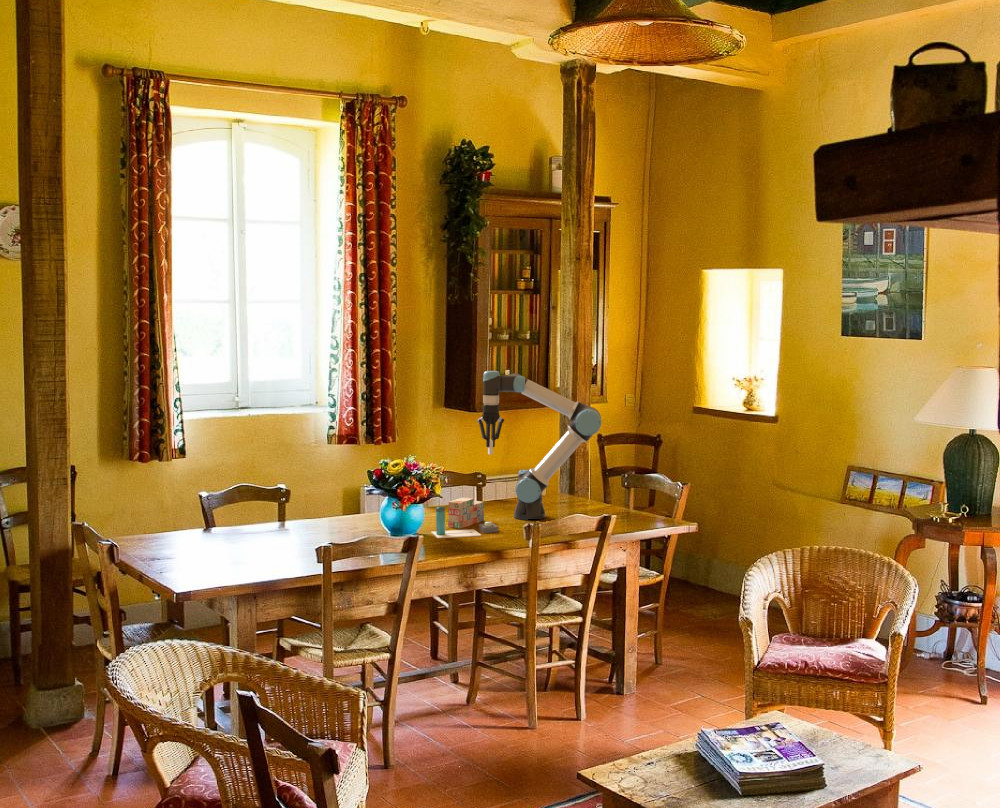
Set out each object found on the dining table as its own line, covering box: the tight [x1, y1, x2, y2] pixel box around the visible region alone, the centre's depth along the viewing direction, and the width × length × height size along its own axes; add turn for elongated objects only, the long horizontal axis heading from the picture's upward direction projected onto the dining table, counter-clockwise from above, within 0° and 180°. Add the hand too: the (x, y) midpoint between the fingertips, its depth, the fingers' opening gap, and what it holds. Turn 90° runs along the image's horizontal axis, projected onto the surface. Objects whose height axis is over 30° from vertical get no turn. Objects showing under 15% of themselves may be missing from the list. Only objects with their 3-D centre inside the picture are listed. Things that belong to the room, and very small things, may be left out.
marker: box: [435, 506, 446, 535], centre depth 493 cm, size 4×4×12 cm
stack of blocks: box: [447, 496, 485, 530], centre depth 517 cm, size 21×6×12 cm, turn 149°
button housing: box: [478, 523, 499, 534], centre depth 503 cm, size 7×7×2 cm
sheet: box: [430, 528, 482, 539], centre depth 496 cm, size 20×12×1 cm, turn 107°
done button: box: [484, 521, 493, 527], centre depth 503 cm, size 3×3×4 cm
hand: (490, 454), depth 520 cm, fingers closed
